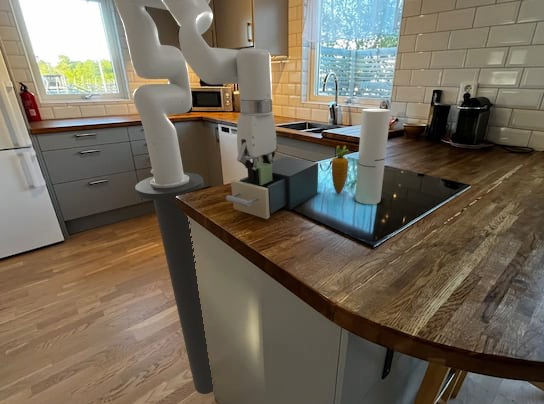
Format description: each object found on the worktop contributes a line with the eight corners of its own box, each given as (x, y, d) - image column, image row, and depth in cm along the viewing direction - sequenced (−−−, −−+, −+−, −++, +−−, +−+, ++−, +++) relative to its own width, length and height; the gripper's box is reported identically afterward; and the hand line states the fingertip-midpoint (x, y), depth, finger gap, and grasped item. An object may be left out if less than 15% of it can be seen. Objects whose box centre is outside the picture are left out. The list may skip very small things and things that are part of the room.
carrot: (342, 190, 93) (344, 142, 87) (349, 196, 89) (352, 146, 83) (327, 192, 92) (329, 144, 86) (334, 198, 87) (336, 147, 81)
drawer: (255, 226, 70) (253, 195, 67) (221, 214, 76) (218, 185, 73) (297, 201, 83) (297, 174, 80) (266, 193, 89) (264, 168, 86)
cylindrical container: (385, 202, 84) (396, 110, 74) (361, 205, 82) (370, 112, 72) (373, 193, 90) (381, 108, 80) (351, 196, 89) (357, 109, 79)
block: (248, 182, 77) (247, 165, 75) (259, 177, 80) (258, 161, 78) (261, 185, 74) (260, 168, 73) (272, 180, 78) (271, 164, 76)
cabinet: (290, 210, 80) (289, 176, 76) (255, 200, 87) (252, 168, 83) (317, 193, 91) (318, 162, 87) (284, 185, 98) (283, 157, 94)
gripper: (266, 103, 78) (269, 170, 86) (218, 110, 65) (226, 187, 73) (290, 105, 74) (290, 174, 82) (243, 112, 62) (249, 193, 69)
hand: (260, 180), depth 77 cm, fingers closed on block, 4 cm apart
